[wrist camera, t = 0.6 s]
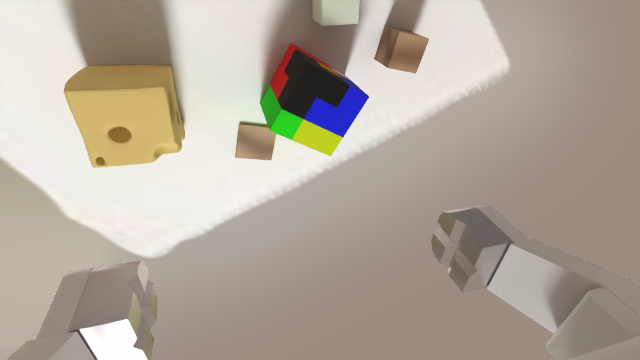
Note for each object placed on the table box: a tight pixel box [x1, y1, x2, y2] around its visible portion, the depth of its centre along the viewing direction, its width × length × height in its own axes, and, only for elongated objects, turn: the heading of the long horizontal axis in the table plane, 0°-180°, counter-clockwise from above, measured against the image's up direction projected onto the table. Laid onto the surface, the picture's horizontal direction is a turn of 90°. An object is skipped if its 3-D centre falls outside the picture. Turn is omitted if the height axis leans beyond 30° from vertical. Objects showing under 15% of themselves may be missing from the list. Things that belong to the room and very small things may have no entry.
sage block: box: [312, 0, 360, 26], centre depth 43 cm, size 5×5×5 cm
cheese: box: [64, 65, 185, 168], centre depth 42 cm, size 10×11×10 cm
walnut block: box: [374, 26, 429, 73], centre depth 50 cm, size 5×5×5 cm
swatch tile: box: [235, 124, 276, 160], centre depth 54 cm, size 6×6×1 cm
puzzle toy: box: [260, 44, 369, 156], centre depth 48 cm, size 10×10×10 cm
